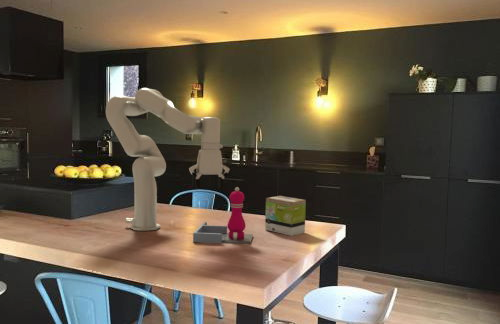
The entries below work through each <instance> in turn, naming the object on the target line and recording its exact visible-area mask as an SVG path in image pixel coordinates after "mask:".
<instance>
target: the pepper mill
mask: <svg viewBox="0 0 500 324" xmlns="http://www.w3.org/2000/svg"><path fill="white" fill-rule="evenodd" d="M229 201H230V202H231V203H230V207H231V215H230V217H229V219H228V221H227V225H226V226H227V230H228V231H229V232H228V233H229V238H233V232H237V239H240V238H243V237H244V234H245V232H244V231H245V229H246V222H245V221H246V220H245V219H244V217H243V207H244V203H243V202H244V201H245V194H244V193H243V192H242V191H240V188H239V187H238V186H236V187H235V188H234V191H232V192H231V193H230V194H229Z"/></svg>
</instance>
